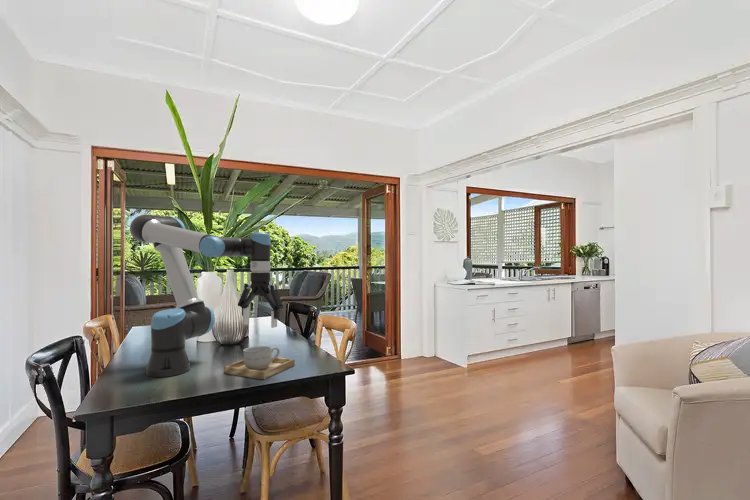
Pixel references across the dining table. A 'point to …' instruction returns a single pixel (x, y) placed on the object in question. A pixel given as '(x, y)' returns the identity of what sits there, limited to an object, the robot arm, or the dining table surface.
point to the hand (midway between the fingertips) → (259, 325)
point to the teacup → (259, 357)
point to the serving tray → (272, 369)
